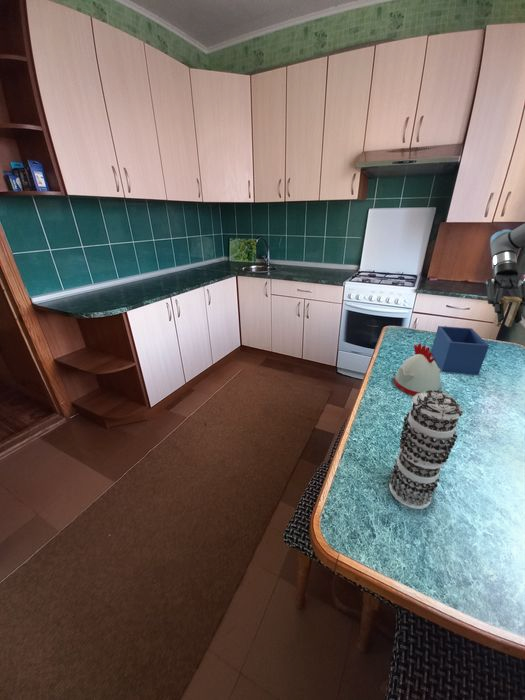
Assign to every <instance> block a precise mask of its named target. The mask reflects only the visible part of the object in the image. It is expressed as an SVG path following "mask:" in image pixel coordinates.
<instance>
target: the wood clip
mask: <svg viewBox="0 0 525 700" xmlns="http://www.w3.org/2000/svg"><path fill="white" fill-rule="evenodd" d="M521 301H522V299H520V298H519V297H512V296H503V295H502V298H501V302H500V303H503V309H504V314H505V313H506V310H507V308H508V305H509V303H511V305H510V309H509V311H508V314H507V316H506V319H505V322H504V325H505V326H506V327H507V328H512V326H513V324H514V322H515V316H516V313H517V311H518V308H519V306H520V303H521ZM501 324H502V321H501V322H498V317H497V314H496V315H495V318H494V320H493V325H494V326H496V327H498V328H499V327H500V326H501Z"/></svg>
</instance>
